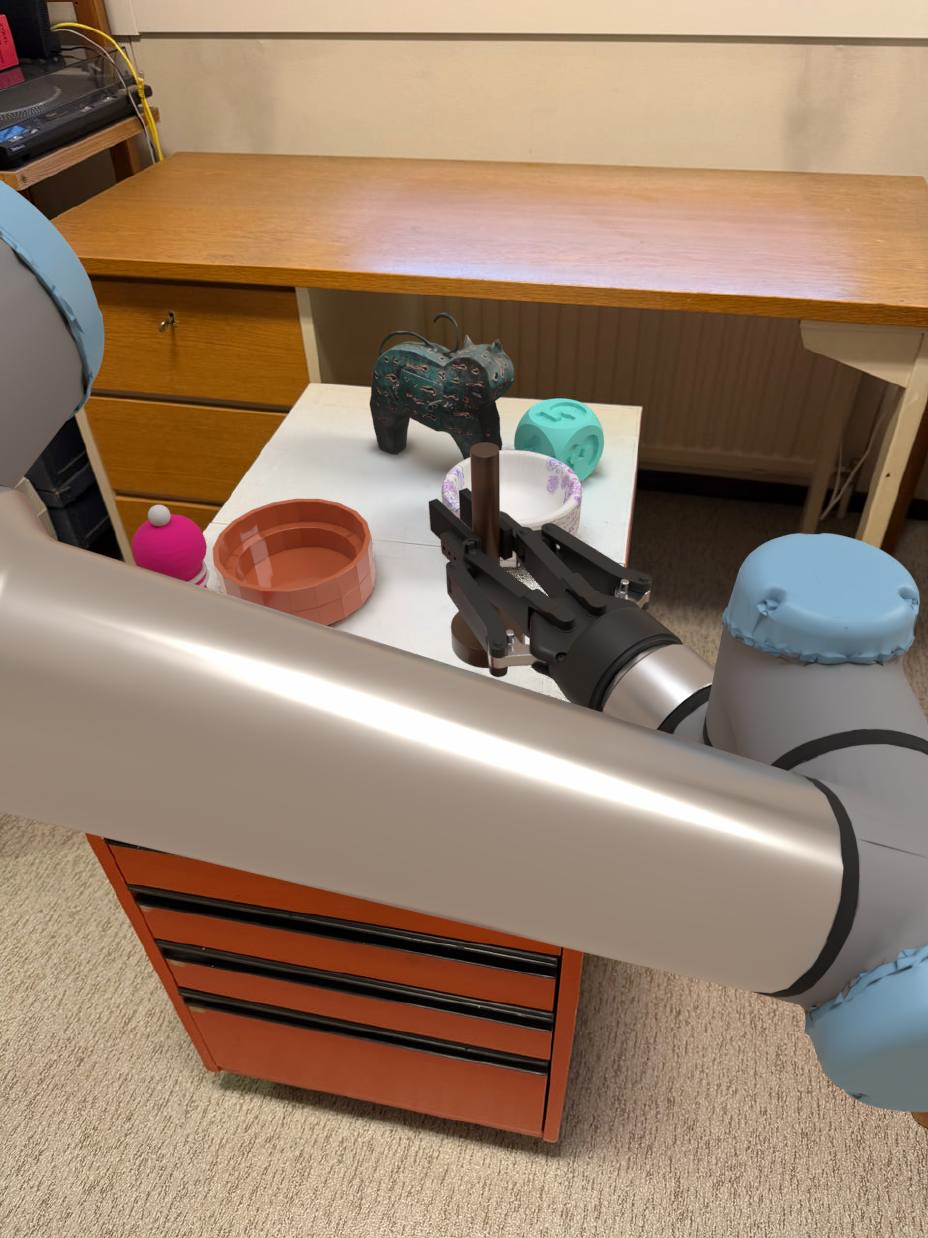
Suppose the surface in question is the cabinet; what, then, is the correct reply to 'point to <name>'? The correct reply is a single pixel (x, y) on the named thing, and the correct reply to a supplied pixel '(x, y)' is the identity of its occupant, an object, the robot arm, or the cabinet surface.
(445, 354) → the ceramic cat
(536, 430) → the decorative dice
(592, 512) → the cabinet surface
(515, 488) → the paper bowls
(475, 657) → the dowel on disc base
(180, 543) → the pepper mill
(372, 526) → the cabinet surface
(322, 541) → the bowl
